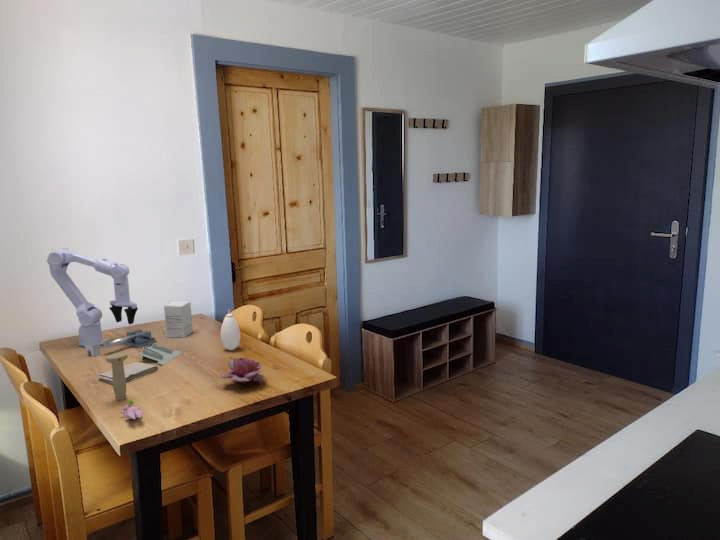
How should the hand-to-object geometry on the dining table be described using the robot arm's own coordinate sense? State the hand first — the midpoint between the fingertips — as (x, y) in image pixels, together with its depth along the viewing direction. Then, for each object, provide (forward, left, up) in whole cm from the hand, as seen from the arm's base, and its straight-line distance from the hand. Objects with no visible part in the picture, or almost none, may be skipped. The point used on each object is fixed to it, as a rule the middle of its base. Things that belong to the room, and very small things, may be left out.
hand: (125, 322), depth 237 cm
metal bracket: (+29, -7, -10) cm, 32 cm away
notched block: (+1, -17, -9) cm, 19 cm away
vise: (+8, -4, -9) cm, 13 cm away
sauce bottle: (+48, +15, -10) cm, 51 cm away
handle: (+51, -40, -10) cm, 66 cm away
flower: (+79, -11, -10) cm, 80 cm away
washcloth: (+34, -25, -10) cm, 44 cm away
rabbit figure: (+67, -47, -10) cm, 82 cm away
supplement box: (+11, +20, -10) cm, 25 cm away
